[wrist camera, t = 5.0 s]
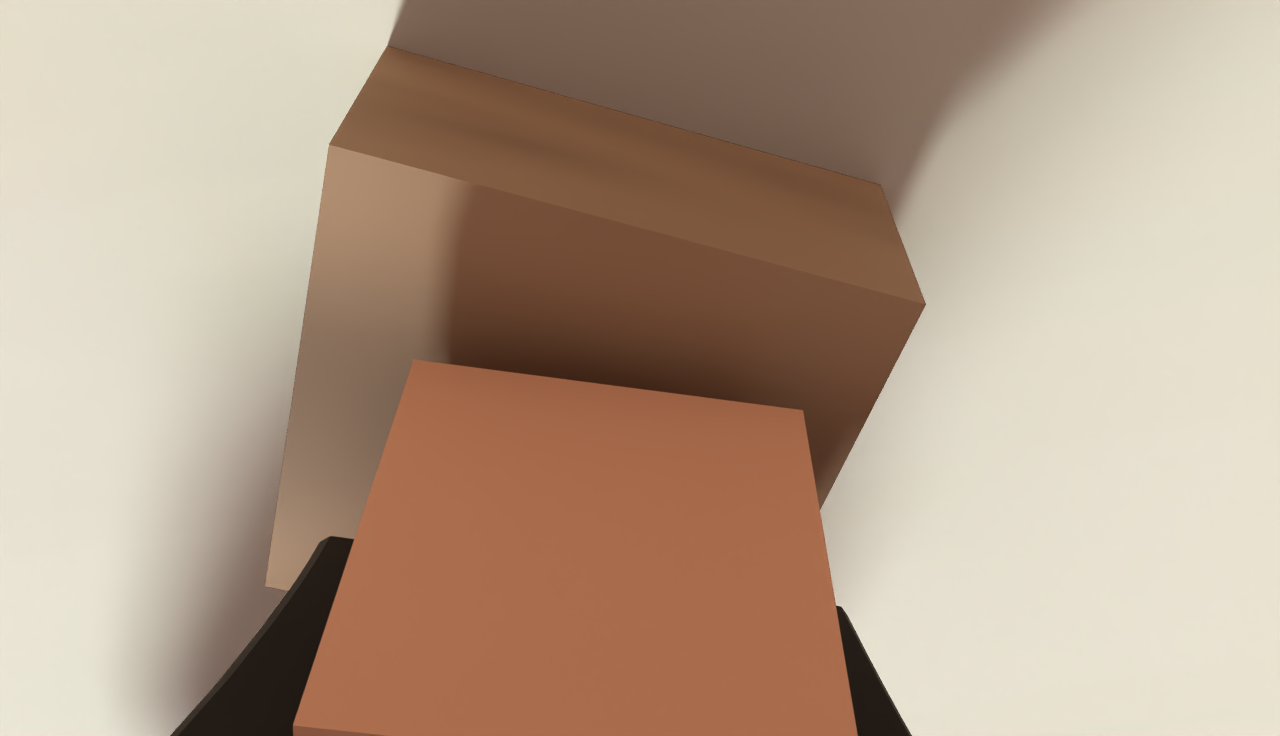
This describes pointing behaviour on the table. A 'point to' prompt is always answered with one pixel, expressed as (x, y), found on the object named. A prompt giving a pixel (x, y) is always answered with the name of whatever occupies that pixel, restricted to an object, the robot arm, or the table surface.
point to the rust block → (583, 570)
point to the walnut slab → (573, 275)
